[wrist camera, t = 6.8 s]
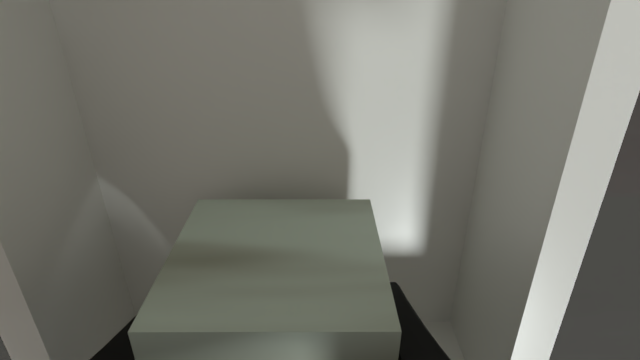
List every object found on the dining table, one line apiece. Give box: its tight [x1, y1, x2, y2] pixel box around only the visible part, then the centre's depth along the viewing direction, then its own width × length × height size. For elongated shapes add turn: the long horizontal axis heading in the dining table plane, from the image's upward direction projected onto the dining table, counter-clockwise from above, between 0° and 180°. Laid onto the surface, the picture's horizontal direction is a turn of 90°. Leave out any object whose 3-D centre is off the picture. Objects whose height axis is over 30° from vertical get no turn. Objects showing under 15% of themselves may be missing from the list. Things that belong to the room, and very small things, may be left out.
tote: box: [0, 0, 640, 360], centre depth 11 cm, size 18×14×5 cm
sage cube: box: [128, 199, 402, 360], centre depth 11 cm, size 5×5×5 cm
